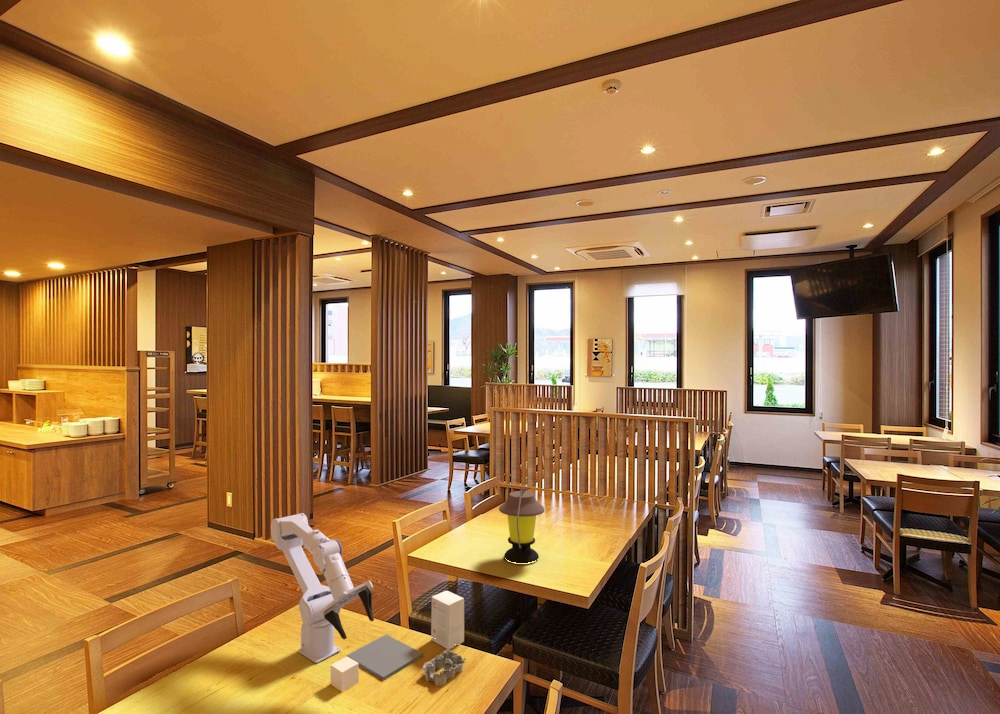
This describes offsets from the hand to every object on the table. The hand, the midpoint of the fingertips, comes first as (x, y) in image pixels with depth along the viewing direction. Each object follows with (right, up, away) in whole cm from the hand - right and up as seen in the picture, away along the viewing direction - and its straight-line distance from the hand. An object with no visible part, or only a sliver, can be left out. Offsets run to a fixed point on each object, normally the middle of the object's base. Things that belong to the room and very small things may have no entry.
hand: (358, 629), depth 132 cm
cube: (-4, -14, +1) cm, 15 cm away
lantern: (+46, -15, +85) cm, 98 cm away
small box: (+21, -15, +21) cm, 33 cm away
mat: (+4, -14, +12) cm, 19 cm away
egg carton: (+21, -15, +5) cm, 27 cm away
